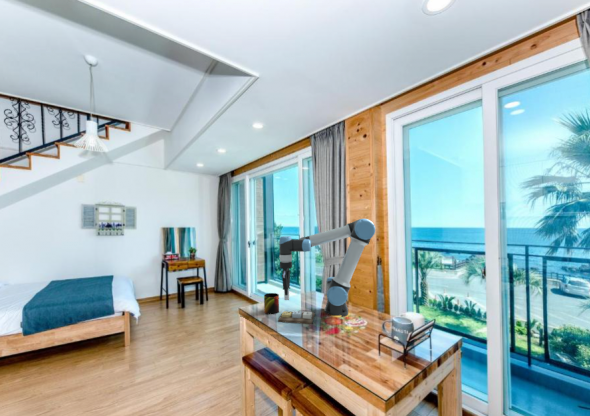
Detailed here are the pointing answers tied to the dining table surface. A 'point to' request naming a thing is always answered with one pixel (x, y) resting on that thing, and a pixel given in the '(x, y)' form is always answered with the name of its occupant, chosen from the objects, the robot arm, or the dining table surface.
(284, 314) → the tile
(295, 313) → the two-dot tile
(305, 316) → the tile
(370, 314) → the dining table surface
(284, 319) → the board
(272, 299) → the mug
